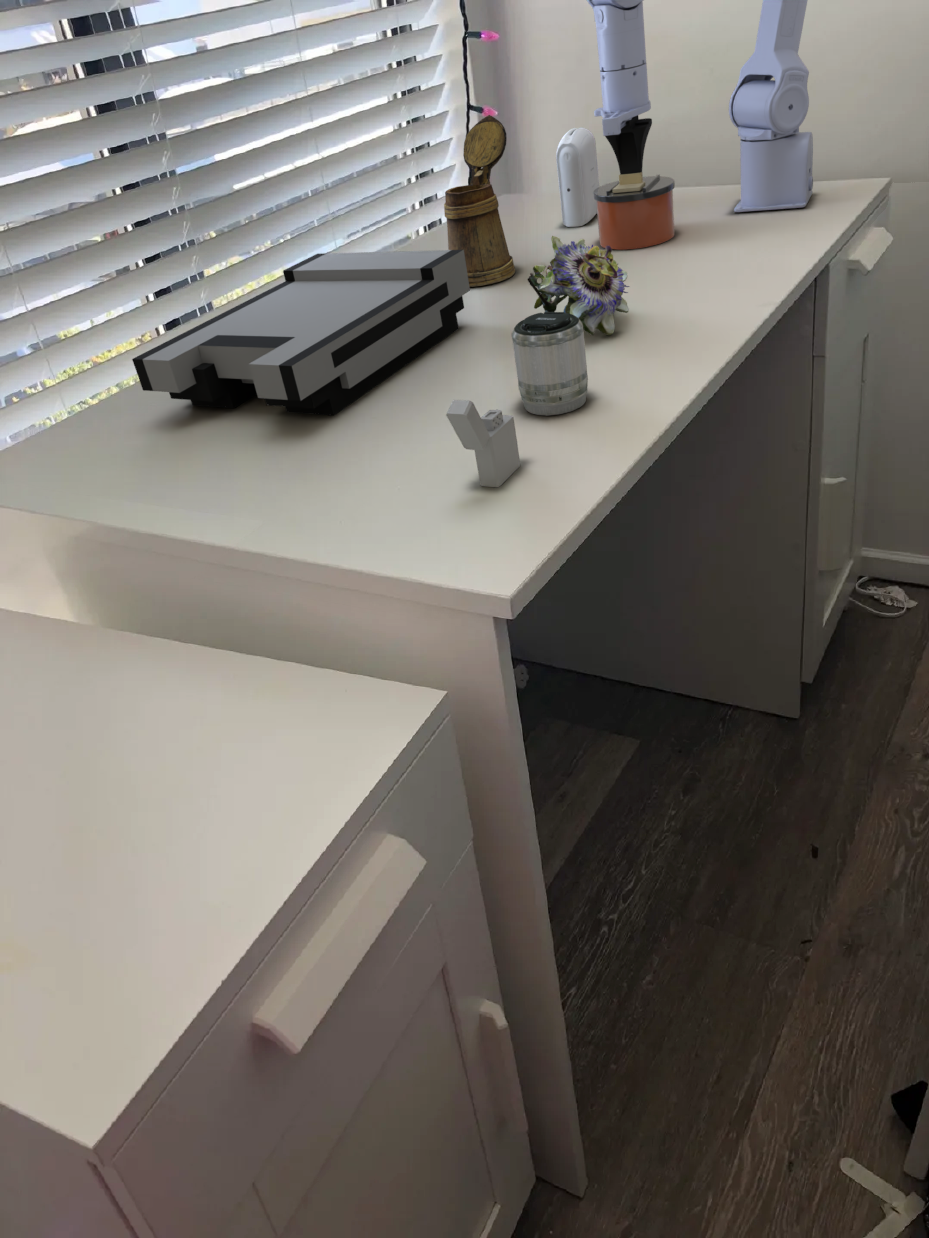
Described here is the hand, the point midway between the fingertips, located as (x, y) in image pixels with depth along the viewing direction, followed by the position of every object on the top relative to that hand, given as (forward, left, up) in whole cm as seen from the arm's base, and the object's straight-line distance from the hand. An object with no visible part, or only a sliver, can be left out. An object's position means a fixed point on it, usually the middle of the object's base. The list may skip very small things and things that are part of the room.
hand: (631, 183), depth 131 cm
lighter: (-7, +71, -8) cm, 72 cm away
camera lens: (-7, +55, -8) cm, 56 cm away
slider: (0, +1, 0) cm, 1 cm away
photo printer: (+12, -15, -8) cm, 20 cm away
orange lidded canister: (0, -1, -7) cm, 7 cm away
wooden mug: (+17, +11, -8) cm, 22 cm away
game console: (+23, +46, -8) cm, 52 cm away
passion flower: (-3, +35, -8) cm, 36 cm away
